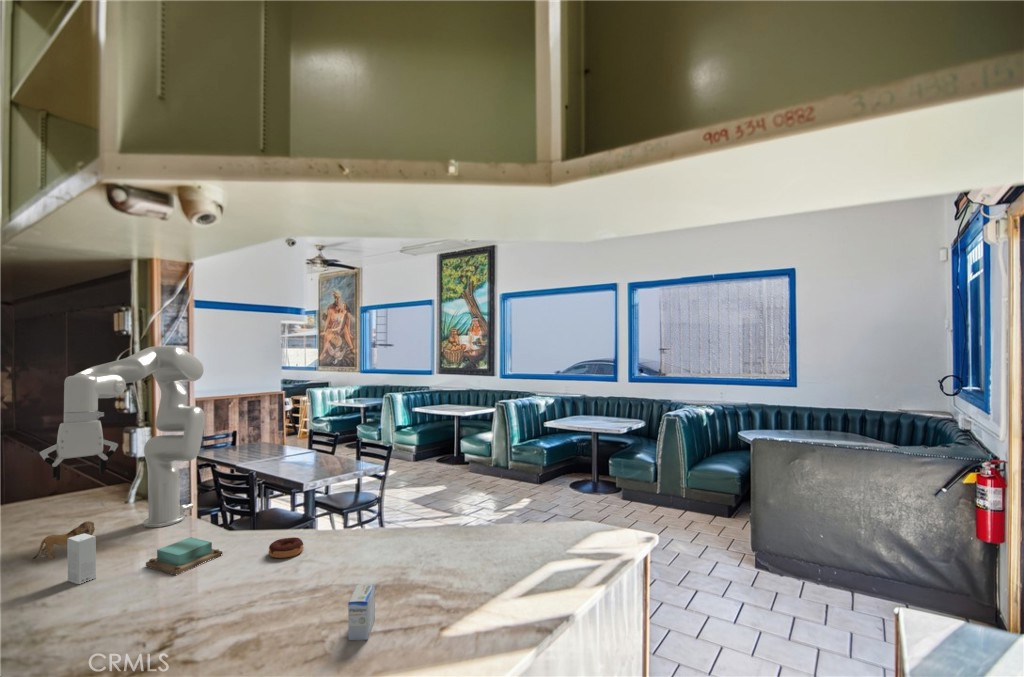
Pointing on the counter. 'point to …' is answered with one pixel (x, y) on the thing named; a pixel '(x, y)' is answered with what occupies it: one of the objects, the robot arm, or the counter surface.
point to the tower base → (181, 568)
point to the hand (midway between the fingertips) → (80, 476)
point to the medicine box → (361, 612)
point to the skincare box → (81, 558)
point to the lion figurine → (64, 538)
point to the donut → (286, 547)
